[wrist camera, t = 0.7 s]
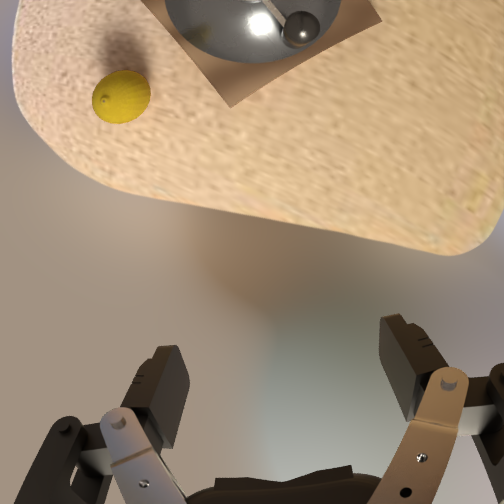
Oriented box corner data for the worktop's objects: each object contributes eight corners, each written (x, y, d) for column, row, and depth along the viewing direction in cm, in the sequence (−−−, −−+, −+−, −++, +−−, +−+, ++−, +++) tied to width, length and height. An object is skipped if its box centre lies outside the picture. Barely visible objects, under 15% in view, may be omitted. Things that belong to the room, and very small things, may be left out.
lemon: (169, 95, 30) (143, 104, 24) (133, 126, 32) (100, 142, 26) (141, 59, 28) (108, 59, 21) (106, 91, 30) (68, 100, 23)
